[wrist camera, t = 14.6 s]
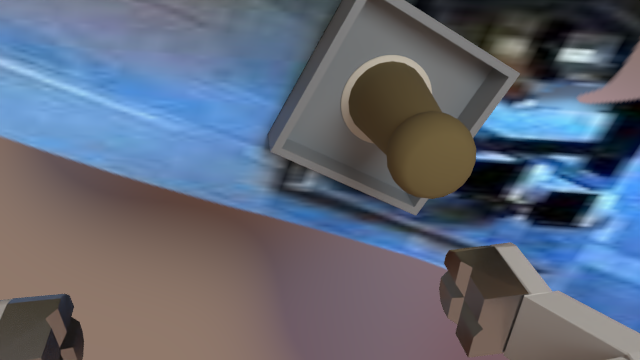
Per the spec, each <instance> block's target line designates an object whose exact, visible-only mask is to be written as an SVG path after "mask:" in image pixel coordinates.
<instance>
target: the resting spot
mask: <svg viewBox="0 0 640 360" xmlns="http://www.w3.org/2000/svg"><path fill="white" fill-rule="evenodd" d="M390 61H395V62H401V63H405V64H407V65H409V66H411V67H412V68H414V69H415V70H416V71H417V72H418V73H419V74H420V76H421V77H422V78H423V80H424V81H425V83H426V85H427V87H428V88H429V90H430V92H431V94H432V88H431V83H430V80H429V78H428V76H427V74H426V72H425V71H424V70H423V68H422V67H421V66H420V65H418V64H417V63H416V62H415V61H413V60H411V59H409V58H407V57H404V56H400V55H383V56H379V57H376V58H373V59H371V60H369V61H367V62H365V63H364V64H362V65H361V66H360V67H358V68H357V69H356V70H355V71H354V72H353V74H352V75H351V76H350V78H349V79H348V81H347V83H346V85H345V87H344V90H343V93H342V97H341V111H342V116H343V119H344V121H345V123H346V125H347V127H348V128H349V129H350V131H351V132H352V133H353V134H354V135H355V136H357V137H358V138H360V139H362V140H364V141H366V142H369V143H373V142H372V141H371V140H370V139H369V138H368V137H367V136H366V135H365V134H364V133H363V132H362V131H361V130H360V129H359V128H358V127H357V126H356V125H355V124H354V122H353V120H352V118H351V116H350V113H349V103H348V101H349V97H350V93H351V89H352V87H353V86H354V84H355V82H356V81H357V79H358V78H359V77H360V76H361V75H362V74H363V73H364V72H365V71H366V70H367V69H369V68H371V67H373V66H375V65H377V64H379V63H384V62H390Z"/></svg>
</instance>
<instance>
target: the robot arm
mask: <svg viewBox="0 0 640 360" xmlns="http://www.w3.org/2000/svg"><path fill="white" fill-rule="evenodd" d="M444 264H445V266H446V268H447V269H448V271H447V272H446V273H445V274H444V275H443V276H442V277H441V281H440V287H439V290H440V300H441V304H442V307H443V310H444V312H445V314H446V316H447V318H448V319H450V320H451V321H453V322H454V323H456V324H457V329H456V335H457V337H458V339H459V341H460V343H461V345H462V347H463V349H464V351H465V353H466V355H467V356H468V357H476V356H485V355H493V354H500V353H504V356H506V357H507V358H508V359H509V360H640V333H638V332H636V331H634V330H632V329H630V328H628V327H626V326H624V325H622V324H621V323H619V322H617V321H615V320H613V319H611V318H609V317H607V316H605V315H603V314H602V313H600V312H598V311H596V310H594V309H592V308H590V307H588V306H586V305H584V304H583V303H581V302H579V301H577V300H575V299H573V298H571V297H569V296H567V295H565V294H564V293H562V292H560V291H553V292H552V290H551V289H550V288H549V287H548V285H547V284H546V283H545V281H544V280H543V279H542V278H541V276H540V275H539V274H538V273H537V271H536V270H535V269H534V268H533V266H532V265H531V264H530V263H529V261H528V260H527V259H526V258H525V256H524V255H523V254H522V253H521V251H520V250H519V249H518V248H517V246H516V245H514V244H512V243H503V244H495V245H490V246H480V247H472V248H464V249H456V250H449V251H448V253H447V254H446V257H445V262H444ZM73 308H74V305H73V303H72V300H71V298H70V296H69V295H67V294H58V295H47V296H36V297H25V298H14V299H10V300H0V360H82V359H83V349H84V348H83V347H84V339H83V332H82V328H81V325H80V322H79V321H77V320H75V319H74V318H72V317H71V316H72V312H73Z"/></svg>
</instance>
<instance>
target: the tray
mask: <svg viewBox="0 0 640 360" xmlns="http://www.w3.org/2000/svg"><path fill="white" fill-rule="evenodd" d="M383 55H400V56H404V57H407V58H409V59H411V60H413V61H415V62H416V63H417V64H418V65H420V66H421V67H422V68H423V70H424V71H425V72H426V74H427V76H428V78H429V80H430V83H431V88H432V95H433V97H434V99H435V100H436V102H437V104H438V106H439V107H440V109H441V111H442V113H446V114H449V115H451V116H453V117H455V118H456V119H458V120H460V121H461V122H462V123H463V124H464V125H465V126H466V128H467V129H468V130H469V131H470V132H471V135H472V137H474V136H475V135H476V133H477V132H478V131H479V129H480V128H481V126H482V125H483V124H484V122H485V121H486V120H487V118H488V117H489V116H490V114H491V113H492V112H493V110H494V109H495V107H496V106H497V105H498V103H499V102H500V101H501V99H502V98H503V97H504V95H505V94H506V92H507V91H508V90H509V88H510V87H511V86H512V84H513V83H514V82H515V80H516V79H517V78H518V76H519V75H520V73H518V72H517V71H515V70H514V69H512V68H511V67H509V66H507V65H506V64H504V63H503V62H501V61H499V60H498V59H496V58H495V57H493V56H492V55H490V54H488V53H487V52H485V51H484V50H482V49H480V48H479V47H477V46H476V45H474V44H473V43H471V42H469V41H468V40H466V39H465V38H463V37H462V36H460V35H458V34H457V33H455V32H454V31H452V30H450V29H449V28H447V27H446V26H444V25H443V24H441V23H439V22H438V21H436V20H435V19H433V18H431V17H430V16H428V15H427V14H425V13H424V12H422V11H420V10H419V9H417V8H416V7H414V6H412V5H411V4H409V3H408V2H406V1H405V0H342V2H341V3H340V5H339V7H338V9H337V11H336V12H335V14H334V16H333V18H332V20H331V21H330V23H329V25H328V27H327V29H326V30H325V32H324V34H323V36H322V38H321V39H320V41H319V43H318V45H317V47H316V48H315V50H314V52H313V54H312V56H311V57H310V59H309V61H308V63H307V65H306V66H305V68H304V70H303V72H302V74H301V75H300V77H299V79H298V81H297V83H296V84H295V86H294V88H293V90H292V92H291V93H290V95H289V97H288V99H287V101H286V102H285V104H284V106H283V108H282V110H281V111H280V113H279V115H278V117H277V119H276V120H275V122H274V124H273V126H272V128H271V129H270V131H269V133H268V139H269V146H270V152H272V153H275V154H277V155H279V156H281V157H284V158H286V159H288V160H291V161H293V162H295V163H297V164H300V165H302V166H304V167H307V168H309V169H311V170H313V171H316V172H318V173H320V174H323V175H325V176H327V177H329V178H332V179H334V180H336V181H338V182H341V183H343V184H345V185H348V186H350V187H352V188H354V189H357V190H359V191H361V192H364V193H366V194H368V195H370V196H373V197H375V198H377V199H380V200H382V201H384V202H386V203H389V204H391V205H393V206H395V207H398V208H400V209H402V210H405V211H407V212H409V213H411V214H414V215H417V213H418V212H419V211H420V209H421V208H422V207H423V205H424V204H425V203H426V201H427V200H428V199H429V198H418V197H415V196H413V195H411V194H408V193H406V192H405V191H404V190H402V189H401V188H400V187H399V186H398V185H397V184H396V183H395V182H394V180H393V178H392V176H391V174H390V172H389V169H388V167H387V155H385V154H384V153H383V152H382V151H381V150H380V149H379V148H378V147H377V146H376V145H375V144H374V143H369V142H366V141H364V140H362V139H360V138H358V137H357V136H355V135H354V134H353V133H352V132H351V131H350V129H349V128H348V127H347V125H346V123H345V121H344V119H343V116H342V111H341V97H342V93H343V90H344V87H345V85H346V83H347V81H348V79H349V78H350V76H351V75H352V74H353V72H354V71H355V70H356V69H357V68H358V67H360V66H361V65H362V64H364V63H365V62H367V61H369V60H371V59H373V58H376V57H379V56H383Z"/></svg>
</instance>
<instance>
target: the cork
mask: <svg viewBox="0 0 640 360" xmlns="http://www.w3.org/2000/svg"><path fill="white" fill-rule="evenodd" d="M348 103H349V113H350V116H351V118H352V120H353V122H354V124H355V125H356V126H357V127H358V128H359V129H360V130H361V131H362V132H363V133H364V134H365V135H366V136H367V137H368V138H369V139H370V140H371V141H372V142H373V143H374V144H375V145H376V146H377V147H378V148H379V149H380V150H381V151H382V152H383V153H384V154H385V155H387V167H388V169H389V172H390V174H391V176H392V178H393V180H394V182H395V183H396V184H397V185H398V186H399V187H400V188H401V189H402V190H404V191H405V192H406V193H408V194H411V195H413V196H415V197H418V198H429V199H433V198H439V197H444V196H446V195H448V194H450V193H452V192H454V191H456V190H457V189H458V188H459V187H461V186H462V185H463V184H464V183H465V182H466V180H467V179H468V177H469V176H470V175H471V172H472V170H473V167H474V164H475V161H476V147H475V143H474V140H473V137H472V135H471V132H470V131H469V130H468V129H467V128H466V126H465V125H464V124H463V123H462V122H461V121H460V120H458V119H456V118H455V117H453V116H451V115H449V114H446V113H442V111H441V109H440V107H439V106H438V104H437V102H436V100H435V99H434V97H433V95H432V94H431V92H430V90H429V88H428V87H427V85H426V83H425V81H424V80H423V78H422V77H421V76H420V74H419V73H418V72H417V71H416V70H415V69H414V68H412V67H411V66H409V65H407V64H405V63H401V62H395V61H390V62H384V63H379V64H377V65H375V66H373V67H371V68H369V69H367V70H366V71H365V72H364V73H363V74H362V75H361V76H360V77H359V78H358V79H357V81H356V82H355V84H354V86H353V87H352V89H351V93H350V97H349V101H348Z"/></svg>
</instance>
